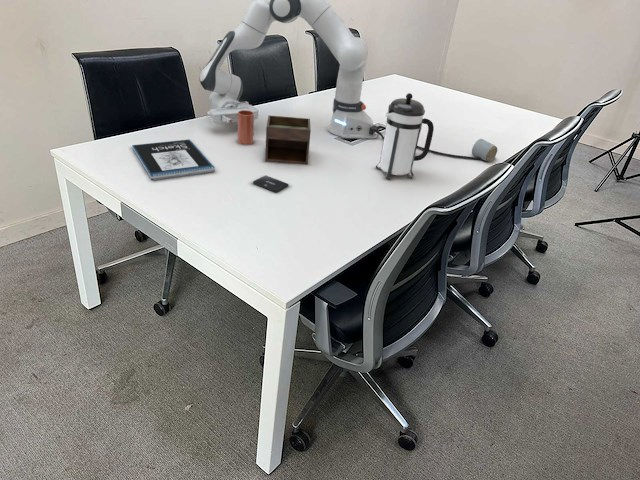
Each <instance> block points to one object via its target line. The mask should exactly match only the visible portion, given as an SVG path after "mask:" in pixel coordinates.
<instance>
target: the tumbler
mask: <svg viewBox="0 0 640 480" xmlns="http://www.w3.org/2000/svg"><path fill="white" fill-rule="evenodd" d="M254 138H255V119H254V112H252V111H248V110H242V111H239V112H238V121H237V143H238V144H240V145H244V146H249V145H252V144H254V142H255V139H254Z"/></svg>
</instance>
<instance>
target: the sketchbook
mask: <svg viewBox="0 0 640 480" xmlns="http://www.w3.org/2000/svg"><path fill="white" fill-rule="evenodd" d="M131 147H132V150H133V151H134V153H135V155H136V157H137V158H138V159H139V161H140V163H141V165H142V166H143V168H144V169H145V171H146V173H147V175H148V176H149V178H150V179H151V180H153V181H156V180H157V181H159V180H164V179H172V178H180V177H185V176H186V177H187V176H195V175H200V174H207V173H208V174H209V173H214V172H215V171H216V167H215V166H214V165H213V164H212V163H211V162H210V161H209V159H208V158H207V157H206V156H205V155H204V154H203V153H202V152H201V151H200V149H199V148H198V147H197V146H196V145H195V144H194V143H193V142H192V140H191V139H180V140H170V141H169V140H168V141H161V142H149V143H140V144H139V143H138V144H132V145H131Z"/></svg>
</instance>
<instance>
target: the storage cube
mask: <svg viewBox="0 0 640 480" xmlns="http://www.w3.org/2000/svg"><path fill="white" fill-rule="evenodd" d="M311 127H312V126H311V118H308V117H307V118H306V117H294V116H293V117H292V116H281V115H269V114H268V115H267V121H266V126H265V154H264V155H265V156H264V158H265V159H264V161H265V163H278V164H279V163H280V164H281V163H282V164H294V165H308V164H309V155H310V142H311V131H312V129H311Z"/></svg>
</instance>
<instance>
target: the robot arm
mask: <svg viewBox="0 0 640 480" xmlns="http://www.w3.org/2000/svg"><path fill="white" fill-rule="evenodd" d="M298 18H301V19H303V20H304V21H305V22H306V23H307V24H308V25H309V26H310V27H311V29H313V31H314V32H315V33H316V35H318V36H319V37H320V38H321V40H322V41H323V42H324V44H325V45H326V46H327V48H328V49H329V52H331V54H332V55H333V56H334V58H335V59H336V61H337V62H338V64H339V67H338V73H337V78H336V87H335V95H334V98H333V101H332V115H331V119H330V122H329V126H328V128H327V131H328V132H329V133H330V134H333V135H335V136H339V137H341V138H343V139H359V140H360V139H363V140H364V139H369V140H371V139H372V140H373V139H374V140H375V139H377V138H378V135H379V136H380V137H381V139H382V140H384V135H383V133H381V132H380V131H379V130H377V125H376V124H374V120H373V118H372V117H371V116H370V115H369V114H368V113H367V112H365V111H366V108H367V106H366V104H365V103H364V102H363V101H362V100H361V96H362V89H363V83H364V77H365V72H366V66H367V59H368V52H369V48H368V45H367V43H366V41H365V40H364V39H362V38H361V37H359V36H354V34H353V33H352V32H351V30H350V29H349V27H348V26H347V24H346V22H345V21H344V19H343V18H342V17H341V16H340V15H339V14H338V12H337V11H336V10H335V9H334V7H333V6H331V5H330V3H329V2H328V1H327V0H269V1H268V0H252V1H251V2H250V4H249V5H248V7H247V9H246V11H245V12H244V14H243V17H242V19H241V21H240V23H239V25H238V26H237V27H236V28H234V30H229V31H228V32H227V33H226V34H225V36H224V37H223V38H222V39H221V41H220V43H219V45H218V46H217V48H216V49H215V51H214V53H213V55H212V56H211V58H210V59H209V60H208V62H207V63H206V64H205V66H204V67H203V68H202V69H201V71H200V74H199V78H198V79H199V83H200V85H201V87H202V88H203V90H205V91H210V92H211V93H210V94H209V98H208V102H209V105H210V107H211V108H210V109H209V110H208V111H206V115H207V116H209V118H210V120H211V122H212V123H227V124H232V122H238V112H239V111H242V110H248V111H252V112H254V120H257V119H259V110H258V108H256V107H255V106H253V105H252V104H249V101H246V100H240V99H241V97H242V95H243V91H244V86H243V85H244V84H243V81H242V79H241V77H240V76H237V75H236V74H233V73H231V72H228V71H225V70H223V69H220V68H221V66H222V65H223V64H224V62H225V61H226V59H227V57H228V56H229V54H230V53H231V52H233V51H238V50H247V51H248V50H254V49H257V48H259V47H260V46H261V45H263V42H264V41H265V38H266V36H267V33H268V31H269V29H270V27H271V25H272V24H273V23H274V22H279V23H282V24H290V23H293V22H294V21H296V20H297V19H298ZM416 149H418V150H422V151H423V150H424V146H419V145H417V148H416ZM428 153H432V154H436V155H440V156H445V157H451V158H458V159H467V160H468V159H469V160H475V161H476V160H477V161H484V160H483V159H481V158H479V157H475V156H468V155H458V154H451V153H446V152H440V151H436V150H433V149H429V151H428Z"/></svg>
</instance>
